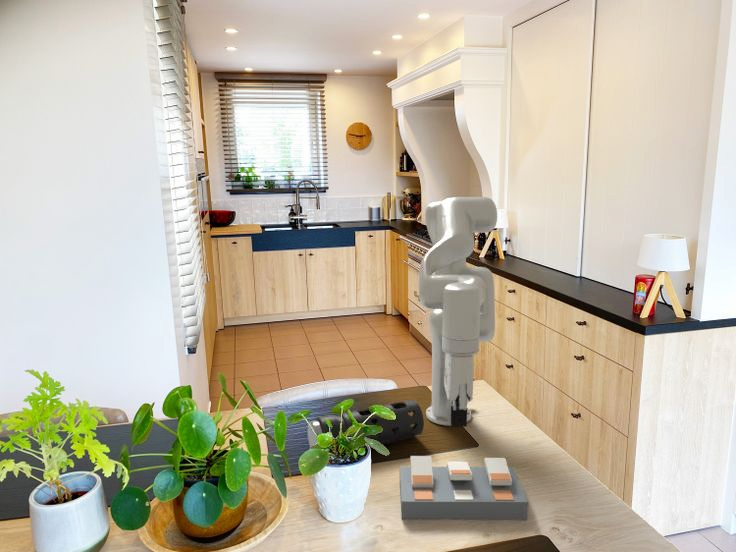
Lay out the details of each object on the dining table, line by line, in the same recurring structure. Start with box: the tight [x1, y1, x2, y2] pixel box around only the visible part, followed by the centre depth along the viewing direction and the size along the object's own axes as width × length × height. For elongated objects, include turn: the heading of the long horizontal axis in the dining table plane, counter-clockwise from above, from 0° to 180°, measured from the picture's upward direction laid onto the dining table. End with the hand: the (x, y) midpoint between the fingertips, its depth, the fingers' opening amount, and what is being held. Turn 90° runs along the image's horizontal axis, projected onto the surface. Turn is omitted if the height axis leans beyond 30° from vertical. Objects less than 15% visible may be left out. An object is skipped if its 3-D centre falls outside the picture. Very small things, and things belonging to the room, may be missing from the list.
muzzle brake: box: [307, 399, 425, 449], centre depth 140 cm, size 10×28×10 cm, turn 113°
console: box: [399, 466, 529, 521], centre depth 118 cm, size 13×25×4 cm, turn 89°
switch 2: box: [446, 461, 472, 480], centre depth 119 cm, size 7×4×3 cm, turn 179°
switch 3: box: [483, 457, 512, 485], centre depth 119 cm, size 7×4×3 cm, turn 178°
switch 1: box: [410, 455, 433, 488], centre depth 119 cm, size 7×4×3 cm, turn 178°
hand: (458, 424), depth 119 cm, fingers closed
